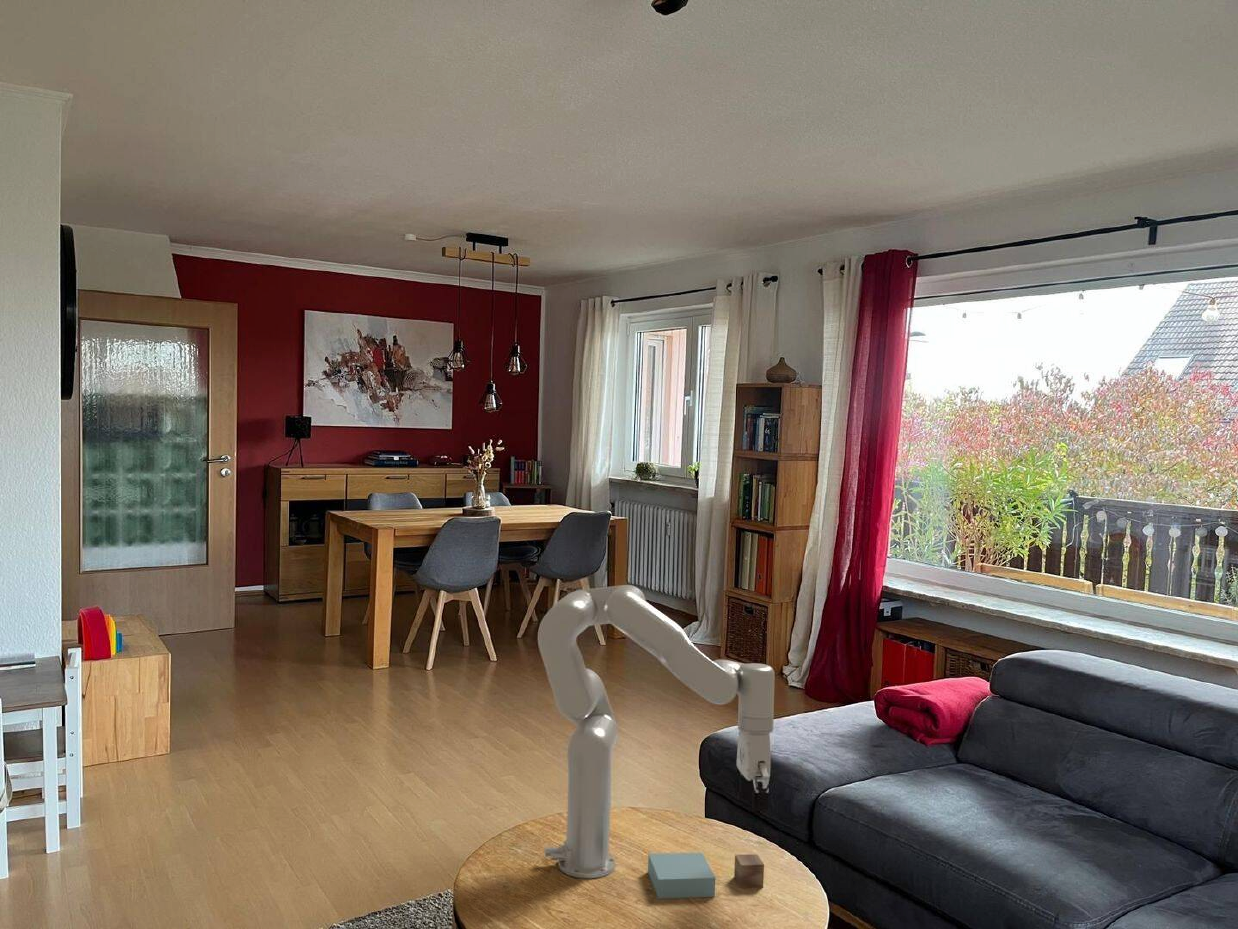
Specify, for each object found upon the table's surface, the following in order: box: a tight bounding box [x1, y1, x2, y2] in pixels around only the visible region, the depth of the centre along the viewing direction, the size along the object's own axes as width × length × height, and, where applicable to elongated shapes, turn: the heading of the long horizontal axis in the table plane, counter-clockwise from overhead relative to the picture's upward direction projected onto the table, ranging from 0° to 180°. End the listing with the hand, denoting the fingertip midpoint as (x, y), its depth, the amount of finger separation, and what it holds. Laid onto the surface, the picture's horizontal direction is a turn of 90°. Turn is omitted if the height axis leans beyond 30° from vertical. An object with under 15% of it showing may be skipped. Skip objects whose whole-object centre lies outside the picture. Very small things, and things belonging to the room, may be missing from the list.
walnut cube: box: [733, 853, 765, 889], centre depth 202 cm, size 5×5×5 cm
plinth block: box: [647, 852, 716, 900], centre depth 200 cm, size 12×12×4 cm
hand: (753, 801), depth 201 cm, fingers open, 9 cm apart
